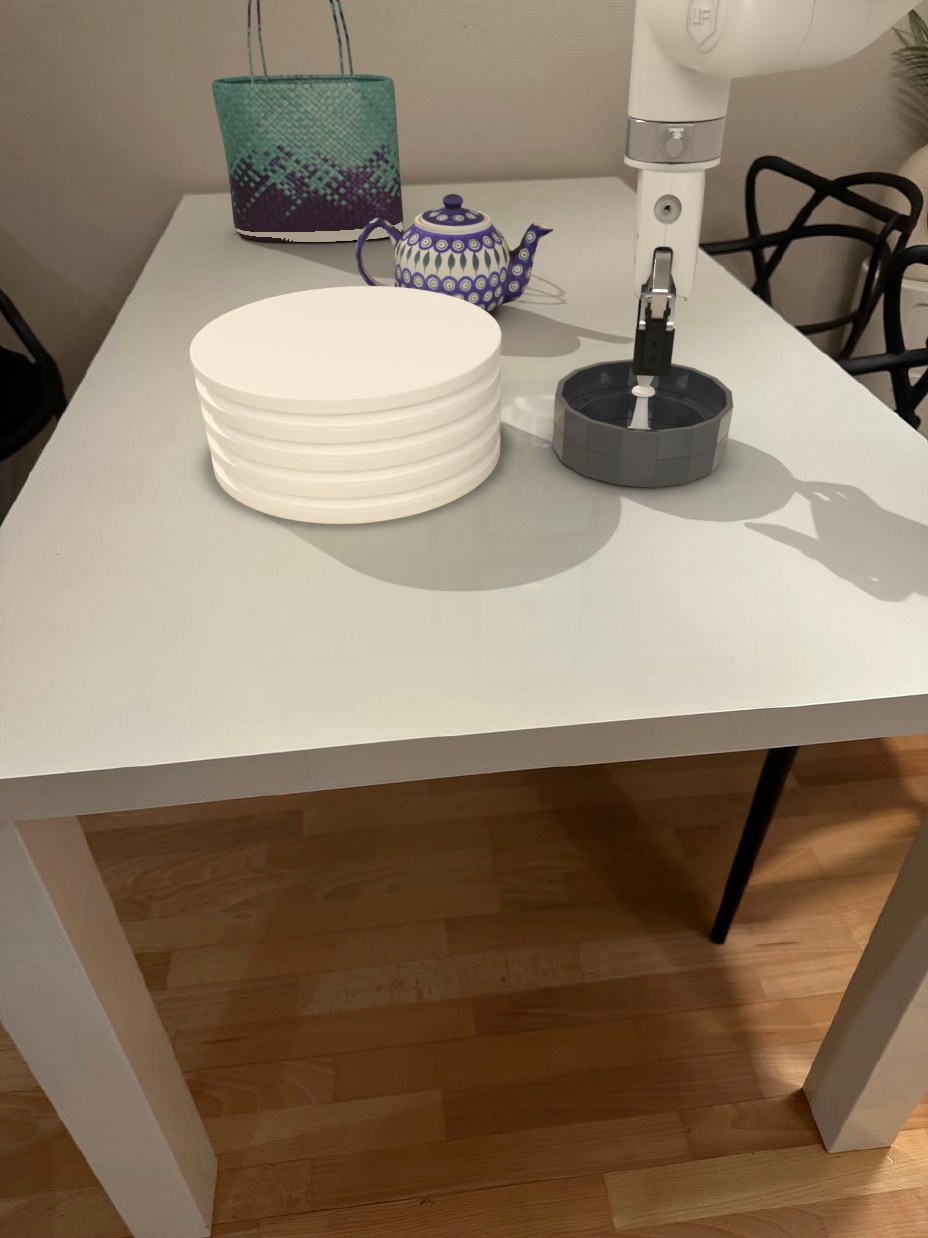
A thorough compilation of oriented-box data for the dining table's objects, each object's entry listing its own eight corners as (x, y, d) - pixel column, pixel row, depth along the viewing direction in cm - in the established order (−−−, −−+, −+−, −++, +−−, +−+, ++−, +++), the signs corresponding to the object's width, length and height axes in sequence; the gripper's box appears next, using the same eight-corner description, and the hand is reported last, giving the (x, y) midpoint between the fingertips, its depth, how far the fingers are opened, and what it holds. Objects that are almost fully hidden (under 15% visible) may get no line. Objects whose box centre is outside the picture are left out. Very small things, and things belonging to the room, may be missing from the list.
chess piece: (602, 448, 86) (611, 347, 80) (627, 430, 89) (637, 331, 83) (647, 462, 84) (660, 359, 78) (672, 443, 87) (686, 342, 81)
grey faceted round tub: (719, 420, 92) (728, 364, 88) (725, 499, 80) (737, 438, 76) (562, 410, 95) (565, 355, 91) (544, 485, 82) (547, 424, 78)
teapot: (350, 333, 113) (338, 208, 104) (371, 294, 125) (362, 179, 116) (548, 337, 111) (554, 210, 102) (550, 297, 123) (555, 180, 114)
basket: (407, 223, 154) (392, -69, 130) (401, 243, 145) (383, -69, 120) (244, 225, 155) (199, -66, 131) (227, 244, 146) (175, -65, 121)
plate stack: (188, 420, 94) (164, 311, 87) (434, 373, 103) (430, 271, 96) (252, 554, 74) (228, 426, 67) (551, 481, 82) (557, 361, 75)
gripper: (727, 163, 63) (696, 394, 73) (718, 124, 77) (692, 323, 87) (620, 162, 64) (603, 389, 75) (629, 124, 78) (615, 320, 88)
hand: (651, 354), depth 81 cm, fingers open, 9 cm apart
